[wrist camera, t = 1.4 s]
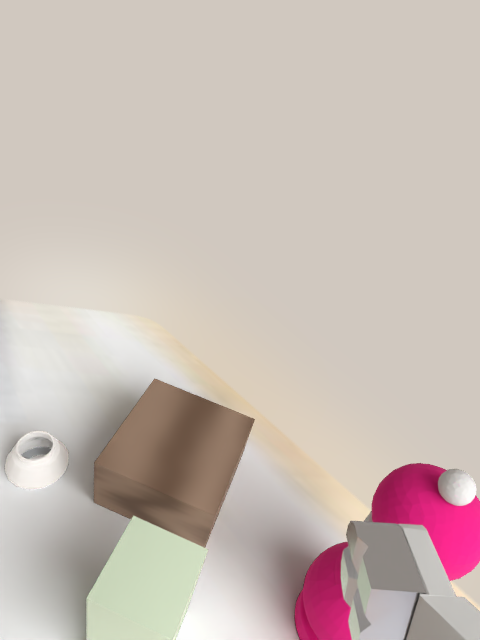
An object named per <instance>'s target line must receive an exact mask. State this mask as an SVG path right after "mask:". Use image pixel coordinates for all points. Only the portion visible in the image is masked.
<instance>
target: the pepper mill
mask: <svg viewBox="0 0 480 640" xmlns="http://www.w3.org/2000/svg"><path fill="white" fill-rule="evenodd" d="M364 522H378V523H395V524H412V525H423V526H424V527H425V528H426V529H427V531H428V534H429V536H430V538H431V540H432V543H433V545H434V547H435V549H436V552H437V554H438V556H439V558H440V561H441V563H442V565H443V567H444V570H445V572H446V574H447V576H448V579H449V581H451V580H455V579H459V578H461V577H462V576H464V575H466V574H467V573H469V572H471V571H472V570H473V569H474V568H475V567H476V565H477V564H478V563H479V561H480V501H479V499H478V498H477V497H476V485H475V482H474V480H473V479H472V477H471V476H470V475H468V474H467V473H466V472H464V471H462V470H459V469H450V470H445V469H443V468H440V467H437V466H434V465H430V464H421V463H417V464H408V465H405V466H402V467H400V468H398V469H395V470H393V471H392V472H391V473H390V474H389V475H388V476H386V477H385V478H384V479H383V480H382V482H381V483H380V484H379V486H378V488H377V490H376V492H375V494H374V496H373V501H372V511H371V512H370V514H369V515H368V516H367V518H366V519H365V520H364ZM348 546H349V545H348V542H343V543H340V544H336V545H334V546H332V547H330V548H328V549H327V550H325V551H324V552H322V553H321V554H320V555H319V556H318V557H317V558H316V559H315V560H314V562H313V563H312V564H311V566H310V567H309V569H308V571H307V574H306V576H305V581H304V586H303V590H302V591H301V593H300V594H299V596H298V599H297V602H296V607H295V623H296V629H297V632H298V635H299V638H300V640H352V638H351V633H350V628H349V623H348V620H349V615H350V610H351V607H350V606H349V605H348V604H347V603H346V602H345V600H344V597H343V591H342V584H341V560H342V554H343V550H344V549H345V548H346V547H348Z"/></svg>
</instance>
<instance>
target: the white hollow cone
mask: <svg viewBox="0 0 480 640" xmlns="http://www.w3.org/2000/svg"><path fill="white" fill-rule="evenodd" d="M37 447H46V448H50V449H51V451H50V452H49V453H48V454H47V455H35V456H33V457H31V458H30V459H27V458H24V457H23V456H21V455H22V454H24V453H25V452H26V451H28V450H30V449H33V448H37ZM68 462H69V453H68V451H67V449H66V447H65V445H64V444H63V443H62V442H60V441H59V440H58V439H56V438H55V437H54V436H52V435H51V434H50V433H48V432H45V431H33V432H29V433H27V434H25V435H24V436H22V437H21V438H20V439H19V441H18V442H17V443H16V444H15V446H14V447H13V448H12V450H11V452H10V453H9V455H8V456H7V458H6V463H5V472H6V474H7V477H8V479H9V481H10V482H12V483H13V484H14V485H16V486H17V487H20V488H24V489H28V490H32V489H40V488H44V487H46V486H48V485H51V484H53V483H55V482H56V481H57V480H58V479H59V478H60V477H61V476H62V475H63V474H64V473H65V471H66V469H67V467H68Z"/></svg>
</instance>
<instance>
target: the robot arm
mask: <svg viewBox="0 0 480 640" xmlns="http://www.w3.org/2000/svg"><path fill="white" fill-rule="evenodd" d="M346 536H347V540H348V545H349V546H348V547H346V548H345V549H344V550H343V554H342V560H341V584H342V591H343V597H344V600H345V602H346V603H347V604H348V605H349V606H350V607H351V610H350V615H349V620H348V623H349V628H350V633H351V638H352V640H480V611H479V610H478V609H477V608H476V607H474V606H473V605H472V604H471V603H470V602H469V601H468V600H467V599H465V598H464V597H457V596H456V594H455V592H454V590H453V588H452V585H451V583H450V581H449V579H448V576H447V574H446V572H445V570H444V567H443V565H442V563H441V561H440V558H439V556H438V554H437V552H436V549H435V547H434V545H433V543H432V540H431V538H430V536H429V534H428V531H427V529H426V528H425V527H424V526H423V525H412V524H395V523H378V522H362V521H350V523H349V525H348V529H347V533H346Z"/></svg>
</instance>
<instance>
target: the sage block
mask: <svg viewBox="0 0 480 640" xmlns="http://www.w3.org/2000/svg"><path fill="white" fill-rule="evenodd" d="M207 552H208V549H206V548H204V547H202V546H200V545H197V544H195V543H193V542H191V541H189V540H186V539H184V538H182V537H180V536H177V535H175V534H173V533H171V532H169V531H166V530H164V529H162V528H160V527H158V526H155V525H153V524H151V523H149V522H147V521H144V520H142V519H140V518H138V517H135V516H133V517H132V519H131V521H130V522H129V524H128V526H127V528H126V529H125V531H124V533H123V535H122V536H121V538H120V540H119V542H118V543H117V545H116V547H115V549H114V550H113V552H112V554H111V556H110V558H109V559H108V561H107V563H106V565H105V566H104V568H103V570H102V572H101V573H100V575H99V577H98V579H97V580H96V582H95V584H94V586H93V587H92V589H91V591H90V593H89V595H88V596H87V598H86V640H176V637H177V635H178V632H179V630H180V627H181V625H182V622H183V619H184V617H185V614H186V612H187V609H188V606H189V603H190V600H191V597H192V595H193V592H194V589H195V586H196V583H197V580H198V577H199V575H200V572H201V569H202V566H203V563H204V560H205V557H206V555H207Z"/></svg>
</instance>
